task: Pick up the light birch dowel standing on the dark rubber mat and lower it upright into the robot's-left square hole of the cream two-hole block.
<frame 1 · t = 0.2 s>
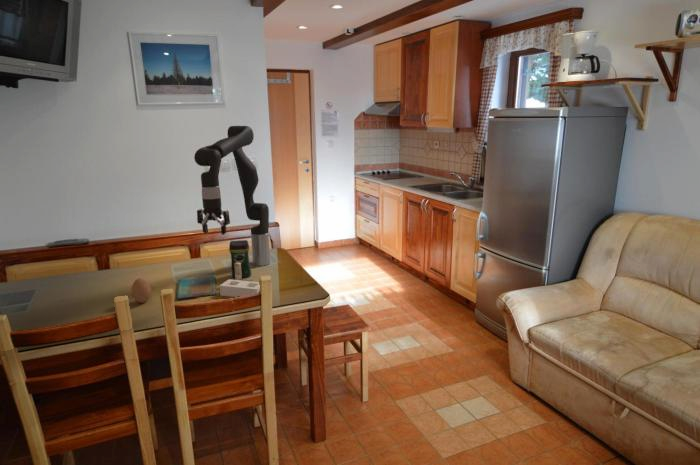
hand: (214, 233, 188), 28 cm above the table, fingers open, 8 cm apart
peg: (238, 283, 206), resting on mat
coffee jar: (241, 276, 217), on the table
book: (197, 290, 201), on the table
block: (243, 294, 194), on the table
mat: (238, 284, 206), on the table
egg: (142, 302, 186), on the table
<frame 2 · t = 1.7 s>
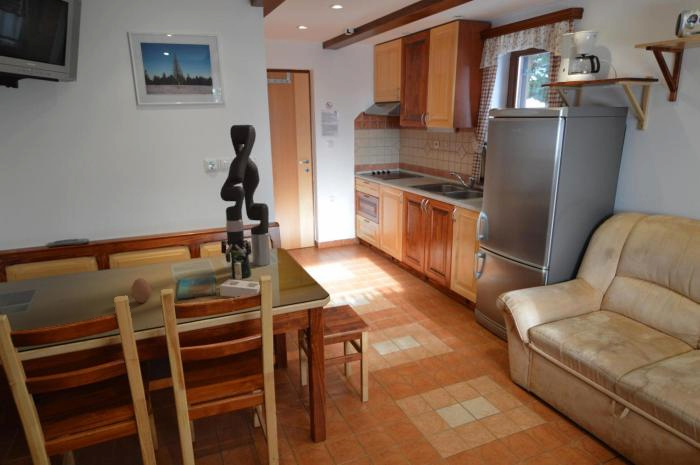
hand: (237, 262, 203), 11 cm above the table, fingers open, 8 cm apart
nothing on the table moved.
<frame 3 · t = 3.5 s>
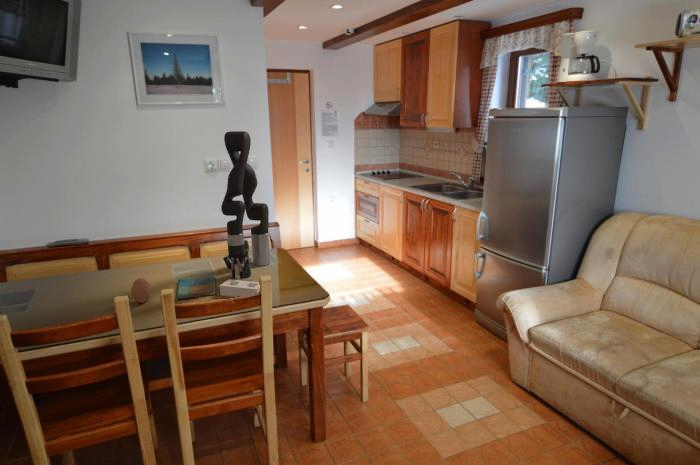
hand: (238, 277, 205), 3 cm above the table, fingers closed on peg, 3 cm apart
peg: (238, 283, 206), resting on mat, touching gripper
everything else where it was.
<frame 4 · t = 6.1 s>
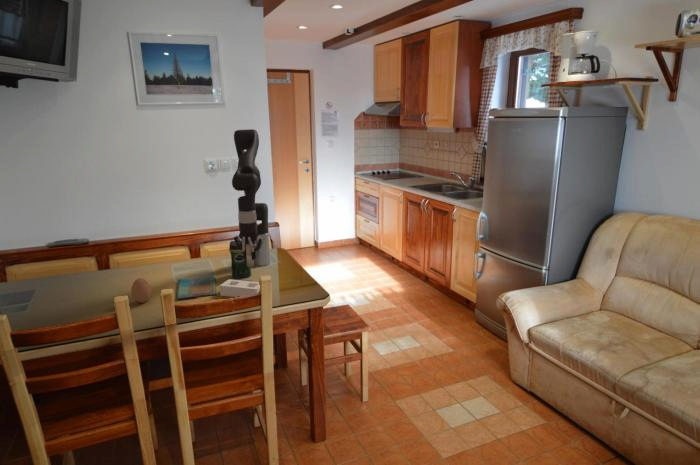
hand: (250, 259, 189), 17 cm above the table, fingers closed on peg, 3 cm apart
peg: (250, 265, 189), point 14 cm above the table, touching gripper
everything else where it was.
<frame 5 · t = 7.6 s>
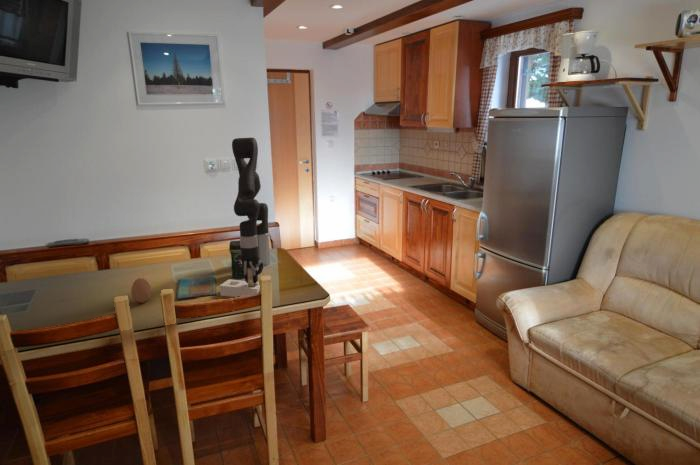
hand: (251, 282, 191), 6 cm above the table, fingers closed on peg, 3 cm apart
peg: (251, 288, 192), point 3 cm above the table, touching gripper
everything else where it was.
when the fingers open (5 cm above the table, at t = 8.7 s): peg drops 2 cm, resting in block.
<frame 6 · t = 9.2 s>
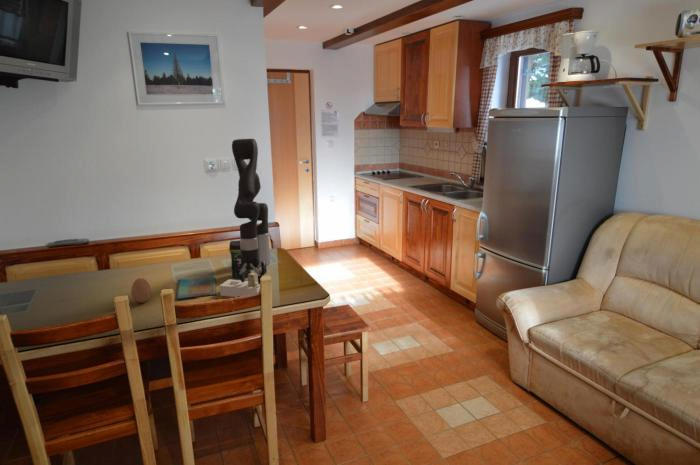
hand: (251, 282, 191), 6 cm above the table, fingers open, 7 cm apart
peg: (252, 295, 193), resting in block
everything else where it was.
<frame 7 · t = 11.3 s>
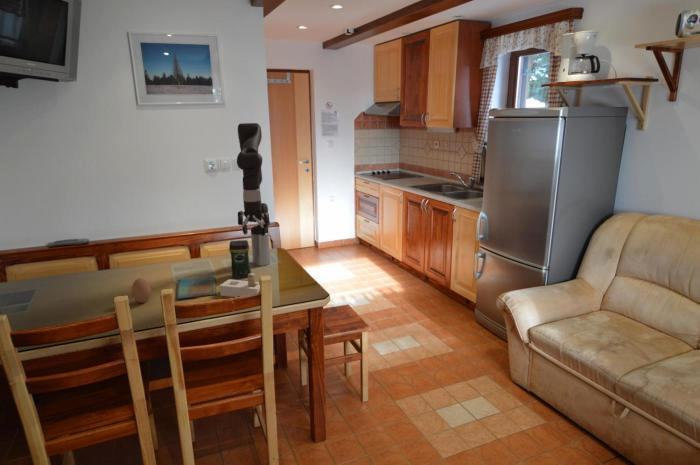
hand: (254, 234, 193), 26 cm above the table, fingers open, 8 cm apart
nothing on the table moved.
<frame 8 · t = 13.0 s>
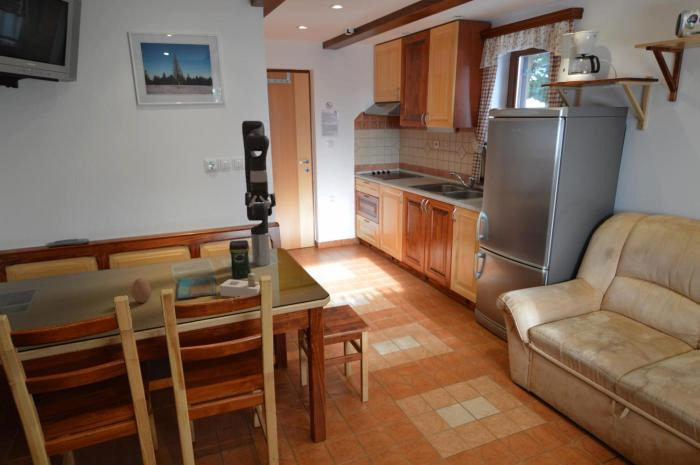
hand: (261, 215, 200), 33 cm above the table, fingers open, 8 cm apart
nothing on the table moved.
at the end: peg 0.0 cm from the target spot on the block, point 0.0 cm above the block's base; peg tilted 0°; the gripper is holding nothing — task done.
